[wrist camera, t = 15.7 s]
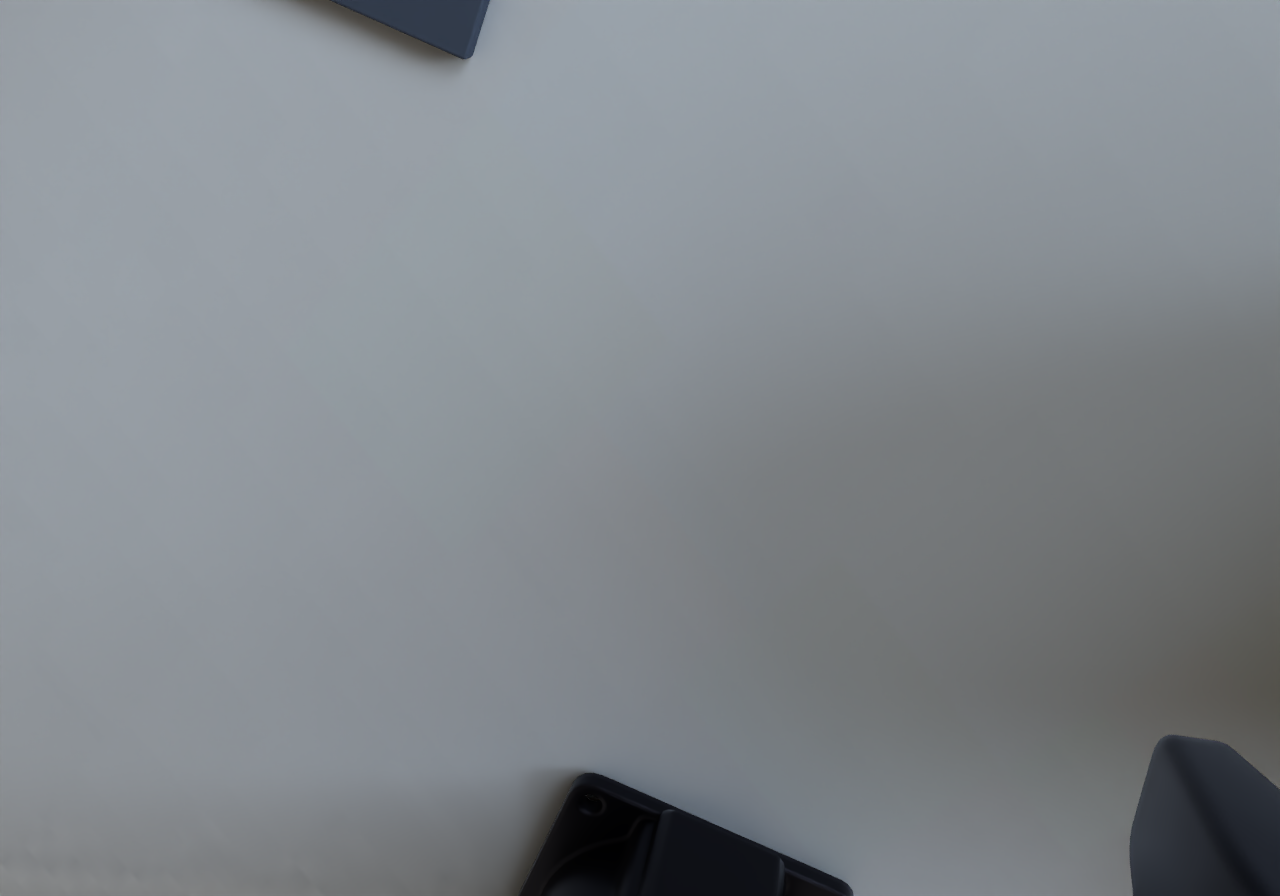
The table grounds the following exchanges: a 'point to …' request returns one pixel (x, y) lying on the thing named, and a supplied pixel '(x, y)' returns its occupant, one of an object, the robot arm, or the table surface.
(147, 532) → the table surface
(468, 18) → the rubber mat
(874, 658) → the table surface
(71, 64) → the table surface
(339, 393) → the table surface
